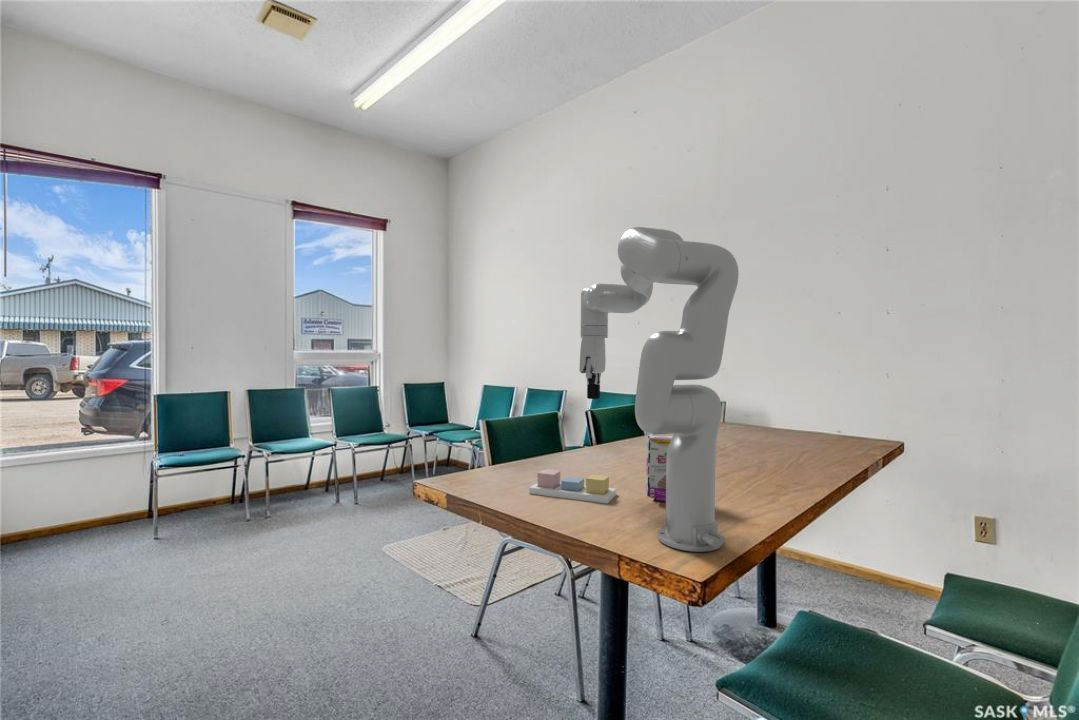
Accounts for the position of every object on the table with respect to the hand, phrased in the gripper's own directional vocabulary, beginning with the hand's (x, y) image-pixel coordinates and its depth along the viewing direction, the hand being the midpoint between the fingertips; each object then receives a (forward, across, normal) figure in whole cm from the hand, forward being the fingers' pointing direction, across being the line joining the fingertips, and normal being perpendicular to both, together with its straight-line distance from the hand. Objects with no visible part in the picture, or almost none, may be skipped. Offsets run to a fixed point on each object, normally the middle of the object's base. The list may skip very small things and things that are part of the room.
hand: (593, 398), depth 142 cm
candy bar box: (+25, +3, +21) cm, 33 cm away
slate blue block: (+25, +13, -1) cm, 28 cm away
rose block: (+24, +13, -8) cm, 28 cm away
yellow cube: (+24, +13, +5) cm, 27 cm away
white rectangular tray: (+25, +13, -1) cm, 28 cm away
